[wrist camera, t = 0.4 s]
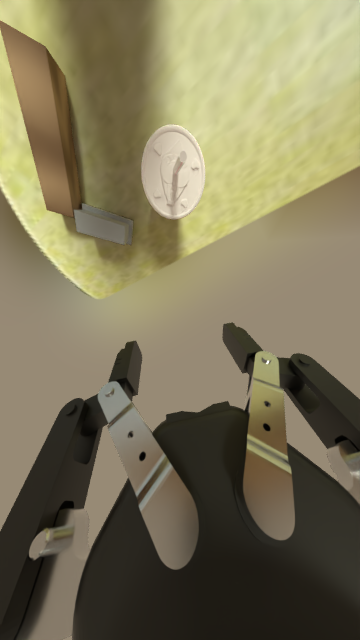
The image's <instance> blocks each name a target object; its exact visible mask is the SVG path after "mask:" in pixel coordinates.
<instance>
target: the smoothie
mask: <svg viewBox="0 0 360 640" xmlns="http://www.w3.org/2000/svg"><path fill="white" fill-rule="evenodd" d="M141 176H142V184H143V188H144V192H145V195H146V197H147V199H148V201H149V203H150V204H151V206H152V207H153V209H154V210H155V211H156V212H157V213H159V214H160V215H161V216H163V217H165V218H167V219H174V220H175V219H180V218H183V217H185V216H187V215H188V214H190V213H191V212H192V211H193V210H194V209H195V207H196V206H197V204H198V203H199V201H200V198H201V196H202V193H203V189H204V184H205V164H204V159H203V155H202V152H201V149H200V147H199V145H198V143H197V141H196V139H195V138H194V137H193V135H192V134H191V133H190V132H189V131H188V130H186V129H185V128H183V127H181V126H179V125H175V124H168V125H164V126H162V127H160V128H158V129H157V130H156V131H155V132H154V133H153V134H152V135H151V137H150V138H149V140H148V142H147V144H146V146H145V149H144V152H143V156H142V164H141Z"/></svg>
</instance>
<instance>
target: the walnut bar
mask: <svg viewBox="0 0 360 640" xmlns="http://www.w3.org/2000/svg"><path fill="white" fill-rule="evenodd" d="M0 29H1V33H2V36H3V40H4V44H5V48H6V52H7V56H8V60H9V64H10V68H11V72H12V75H13V79H14V83H15V87H16V91H17V95H18V99H19V103H20V107H21V111H22V114H23V118H24V122H25V126H26V130H27V134H28V138H29V142H30V146H31V150H32V154H33V157H34V161H35V165H36V169H37V173H38V177H39V181H40V185H41V189H42V193H43V196H44V200H45V204H46V208H47V210H49V211H52V212H56V213H59V214H63V215H66V216H70V217H73V218H75V215H74V210H82V203H81V196H80V188H79V180H78V173H77V165H76V157H75V150H74V142H73V134H72V127H71V119H70V112H69V104H68V96H67V89H66V81H65V75H64V74H63V72H62V71H61V69H60V68H59V66H58V65H57V63H56V62H55V60H54V59H53V57H52V56H51V54H50V53H49V51H48V50H47V48H46V47H45V46H44V45H42V44H40V43H38V42H37V41H35V40H33V39H32V38H30V37H28V36H26V35H25V34H23V33H21V32H19V31H18V30H16V29H14V28H12V27H11V26H9V25H7V24H6V23H4V22H2V21H0Z"/></svg>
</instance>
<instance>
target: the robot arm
mask: <svg viewBox="0 0 360 640" xmlns="http://www.w3.org/2000/svg"><path fill="white" fill-rule="evenodd" d="M223 342H224V344H225V345H226V347H227V349H228V350H229V352H230V354H231V355H232V357H233V359H234V360H235V362H236V364H237V365H238V367H239V368H240V370H241V372H242V373H248V374H249V380H248V386H247V393H246V400H245V404H244V409H241V408H238V407H235V406H230V405H229V402H228V401H227V402H222V403H217V404H213V405H211V406H210V407H208V408H206V409H204V410H202V411H201V412H198V413H195V412H184V411H181V412H177V413H171V414H167V415H166V420H165V421H163V422H162V423H161V424H160V425H159V426H158V427H157V428H156V429H155V430H154V431H153V432H152V431H151V430H150V428H149V426H148V425H147V424H146V422H145V421H144V419H143V418H142V416H141V415H140V413H139V412H138V410H137V409H136V407H135V406H134V404H133V403H132V397H133V396H135V395H138V387H139V379H140V371H141V363H142V354H141V351H140V349H139V346H138V344H137V342H136V341H132V342H127V343H126V346H125V349H122V350H121V351H120V352H119V353H118V354H117V358H116V361H115V363H114V367H113V370H112V373H111V376H110V379H109V382H108V383H107V384H106V385H105V386H103V387H102V388H101V390H100V391H99V393H98V394H97V395H95V396H93V397H91V398H89V399H87V400H85V401H84V400H83V399H81V398H76V399H74V400H72V401H70V402H69V403H67V404H66V405H65V406H64V407H63V408H62V409H61V411H60V413H59V414H58V417H57V418H56V421H55V423H54V425H53V426H52V428H51V431H50V433H49V435H48V437H47V439H46V441H45V443H44V445H43V447H42V449H41V451H40V453H39V455H38V457H37V459H36V461H35V463H34V465H33V467H32V469H31V471H30V473H29V475H28V477H27V479H26V481H25V483H24V485H23V487H22V489H21V491H20V493H19V495H18V497H17V499H16V501H15V503H14V506H13V507H12V509H11V511H10V513H9V515H8V517H7V519H6V521H5V523H4V525H3V527H2V529H1V531H0V640H63V639H65V638H67V637H70V636H72V640H360V399H359V398H358V397H356V396H355V395H354V394H353V393H352V392H351V391H349V390H348V389H347V388H346V387H345V386H344V385H343V384H341V383H340V382H339V381H338V380H337V379H336V378H335V377H333V376H332V375H331V374H330V373H329V372H327V370H325V369H324V368H323V367H322V366H321V365H320V364H318V363H317V362H316V361H315V360H314V359H312V358H311V357H309V356H307V355H304V354H293V355H292V356H291V358H278V357H276V356H274V355H273V354H271V353H269V352H266V351H263V350H262V349H261V347H260V346H259V345H258V344H257V343H256V342H255V341H254V340H253V339H252V338H251V336H250V335H248V333H247V332H246V331H245V330H244V329H242V328H240V327H236V326H235V325H234V323H227V324H224V326H223ZM282 388H283V389H284V391H285V392H286V393H287V395H288V396H289V397H290V399H291V400H292V401H293V403H294V404H295V406H296V407H297V408H298V410H299V411H300V412H301V414H302V415H303V416H304V418H305V419H306V421H307V422H308V423H309V425H310V426H311V427H312V429H313V430H314V431H315V433H316V434H317V436H318V437H319V438H320V440H321V441H322V442H323V444H324V445H325V446H326V448H327V449H328V451H327V457H328V460H329V462H330V466H331V469H332V470H333V472H334V473H335V474H336V475H337V478H338V481H336V480H335V479H334V478H332V477H331V476H330V475H328V474H327V473H326V472H325V471H323V470H322V469H321V468H320V467H318V466H317V465H316V464H314V463H313V462H312V461H310V460H309V459H308V458H307V457H305V456H304V455H303V454H301V453H300V452H299V451H298V450H296V449H295V448H294V447H292V446H291V445H290V444H288V443H287V439H286V423H285V409H284V408H285V407H284V392H283V389H282ZM309 388H310V389H309ZM108 423H109V425H108V430H109V433H110V435H111V437H112V439H113V442H114V444H115V447H116V449H117V451H118V454H119V456H120V458H121V461H122V463H123V466H124V468H125V470H126V472H127V475H128V479H127V481H126V483H125V485H124V487H123V489H122V490H121V492H120V494H119V496H118V498H117V500H116V502H115V504H114V506H113V507H112V509H111V511H110V513H109V515H108V517H107V519H106V521H105V522H104V525H103V526H102V528H101V530H100V532H99V534H98V536H97V538H96V539H95V542H94V544H93V546H92V548H91V550H90V548H89V544H88V531H89V516H88V513H87V511H86V510H85V509H84V505H85V501H86V497H87V492H88V488H89V484H90V479H91V475H92V471H93V466H94V462H95V458H96V453H97V450H98V445H99V441H100V437H101V432H102V428H103V426H105V425H107V424H108Z"/></svg>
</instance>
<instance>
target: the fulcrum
mask: <svg viewBox="0 0 360 640" xmlns="http://www.w3.org/2000/svg"><path fill="white" fill-rule="evenodd" d="M74 215H75V222H76V229H77V232H80V233H83V234H87V235H90V236H94V237H97V238H101V239H104V240H108V241H111V242H115V243H118V244H122V245H125V244H129V245H131V244H132V233H133V220H131V219H128V218H125V217H122V216H119V215H116V214H113V213H110V212H108V211H105V210H102V209H99V208H96V207H93V206H90V205H87V204H84V203H82V210H74Z"/></svg>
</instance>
